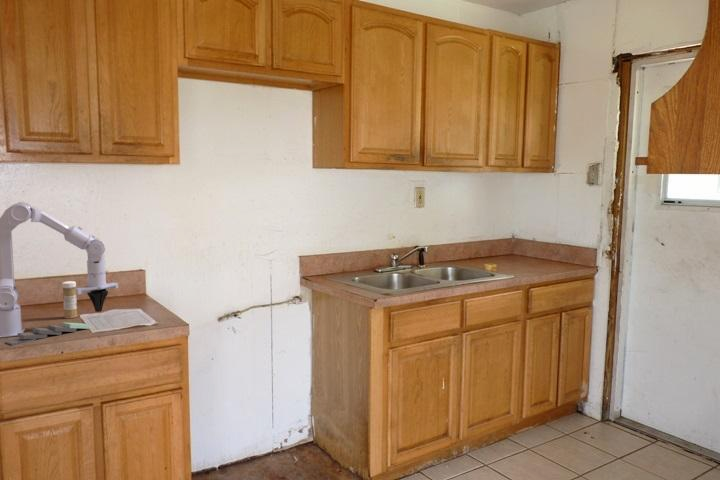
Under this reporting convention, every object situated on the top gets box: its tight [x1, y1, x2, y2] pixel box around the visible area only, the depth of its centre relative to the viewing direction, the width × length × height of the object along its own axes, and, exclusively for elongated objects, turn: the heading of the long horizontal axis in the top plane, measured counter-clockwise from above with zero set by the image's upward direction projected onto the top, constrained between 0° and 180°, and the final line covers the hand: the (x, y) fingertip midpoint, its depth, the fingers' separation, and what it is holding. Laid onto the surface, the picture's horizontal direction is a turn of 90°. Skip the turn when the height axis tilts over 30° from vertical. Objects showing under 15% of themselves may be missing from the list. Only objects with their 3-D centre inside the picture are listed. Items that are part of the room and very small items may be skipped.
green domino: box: [61, 321, 91, 330], centre depth 191 cm, size 1×5×7 cm
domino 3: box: [32, 327, 63, 336], centre depth 184 cm, size 1×5×7 cm
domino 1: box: [4, 337, 37, 346], centre depth 177 cm, size 1×5×7 cm
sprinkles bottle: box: [61, 280, 79, 319], centre depth 208 cm, size 5×5×14 cm
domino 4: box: [47, 324, 78, 333], centre depth 187 cm, size 1×5×7 cm
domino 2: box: [16, 331, 48, 340], centre depth 180 cm, size 1×5×7 cm
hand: (98, 311), depth 197 cm, fingers closed
